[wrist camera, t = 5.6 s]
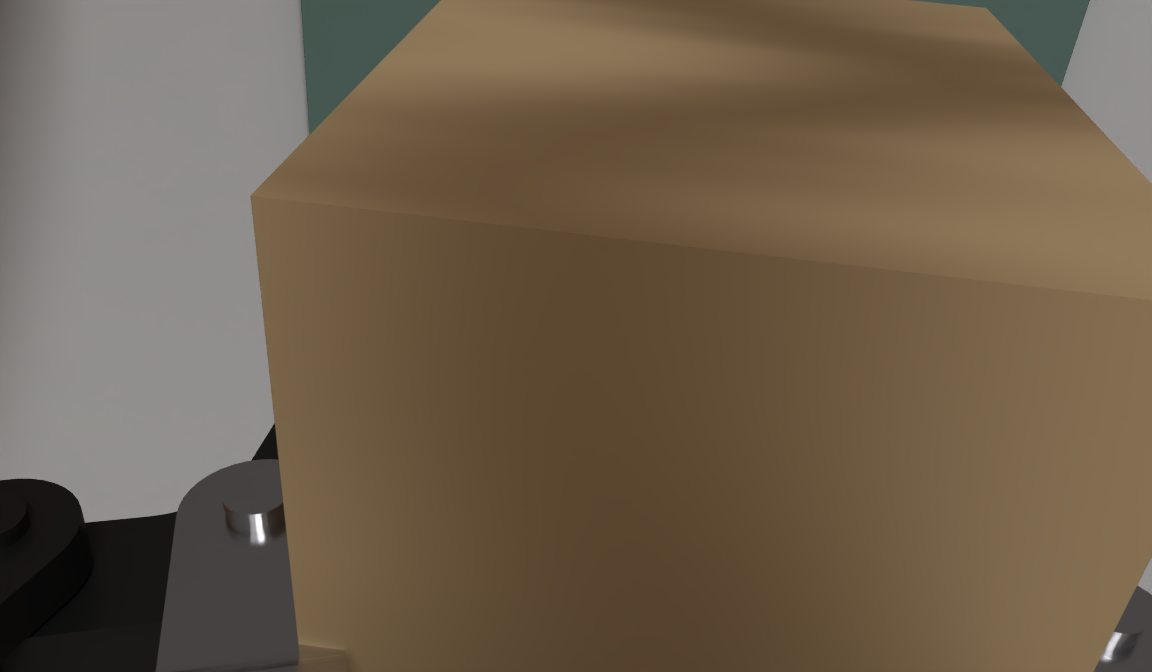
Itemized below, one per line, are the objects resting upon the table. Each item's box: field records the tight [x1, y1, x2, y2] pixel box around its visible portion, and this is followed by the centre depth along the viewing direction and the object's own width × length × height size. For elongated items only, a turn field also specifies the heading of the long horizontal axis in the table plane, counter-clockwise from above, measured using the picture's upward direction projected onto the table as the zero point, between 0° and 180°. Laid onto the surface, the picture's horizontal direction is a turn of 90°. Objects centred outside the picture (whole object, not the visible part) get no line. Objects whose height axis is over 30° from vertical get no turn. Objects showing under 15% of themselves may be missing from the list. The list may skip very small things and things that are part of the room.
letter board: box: [301, 0, 1090, 134], centre depth 22 cm, size 16×16×1 cm
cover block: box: [251, 0, 1152, 672], centre depth 10 cm, size 5×9×6 cm, turn 176°
